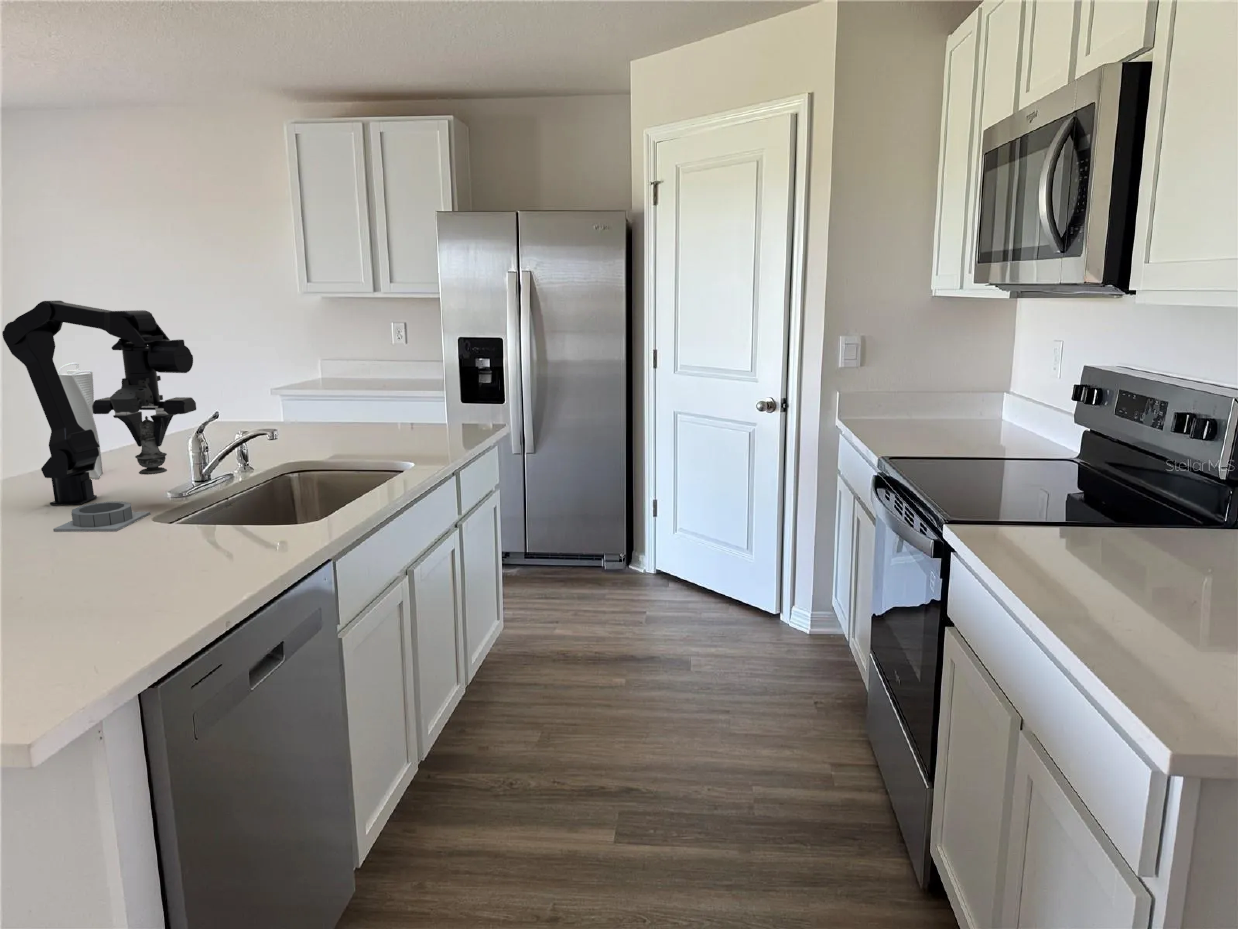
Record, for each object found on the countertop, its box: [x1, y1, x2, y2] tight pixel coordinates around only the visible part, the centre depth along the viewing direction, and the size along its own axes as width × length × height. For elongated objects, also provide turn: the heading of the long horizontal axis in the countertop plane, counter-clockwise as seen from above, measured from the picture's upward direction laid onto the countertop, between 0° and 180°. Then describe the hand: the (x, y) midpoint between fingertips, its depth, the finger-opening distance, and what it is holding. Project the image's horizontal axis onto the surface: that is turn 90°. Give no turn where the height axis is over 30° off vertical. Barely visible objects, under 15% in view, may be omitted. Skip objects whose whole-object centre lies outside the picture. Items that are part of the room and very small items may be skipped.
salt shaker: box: [134, 415, 168, 476], centre depth 174 cm, size 6×6×12 cm
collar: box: [52, 500, 151, 532], centre depth 164 cm, size 12×12×3 cm
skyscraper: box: [57, 362, 103, 480], centre depth 200 cm, size 8×8×28 cm
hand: (149, 446), depth 174 cm, fingers closed on salt shaker, 3 cm apart
